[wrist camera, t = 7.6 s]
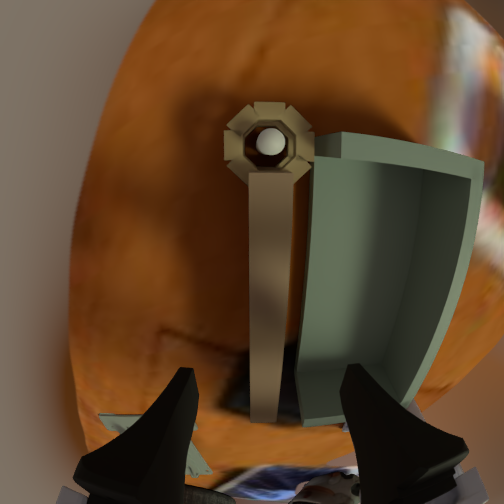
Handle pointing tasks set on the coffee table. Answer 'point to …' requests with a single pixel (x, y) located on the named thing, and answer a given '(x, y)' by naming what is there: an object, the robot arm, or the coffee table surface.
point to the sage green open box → (379, 262)
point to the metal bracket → (122, 422)
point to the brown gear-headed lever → (268, 241)
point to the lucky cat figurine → (330, 490)
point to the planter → (205, 496)
